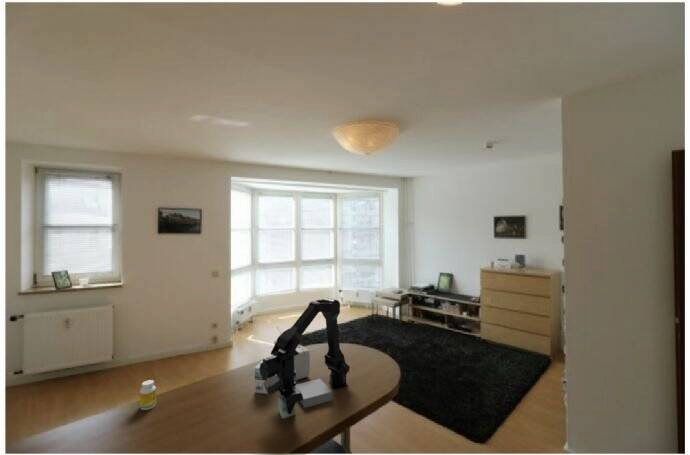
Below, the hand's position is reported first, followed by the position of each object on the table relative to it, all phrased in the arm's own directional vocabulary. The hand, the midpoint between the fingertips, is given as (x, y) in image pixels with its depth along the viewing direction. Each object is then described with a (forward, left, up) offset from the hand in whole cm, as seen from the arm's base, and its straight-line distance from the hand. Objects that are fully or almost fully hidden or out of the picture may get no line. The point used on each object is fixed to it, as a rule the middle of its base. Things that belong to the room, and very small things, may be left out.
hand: (286, 409), depth 124 cm
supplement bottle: (+47, -29, -2) cm, 55 cm away
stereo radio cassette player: (-12, -31, -2) cm, 33 cm away
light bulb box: (+2, -22, -2) cm, 22 cm away
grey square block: (-13, -6, -2) cm, 14 cm away
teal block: (0, 0, -2) cm, 2 cm away
